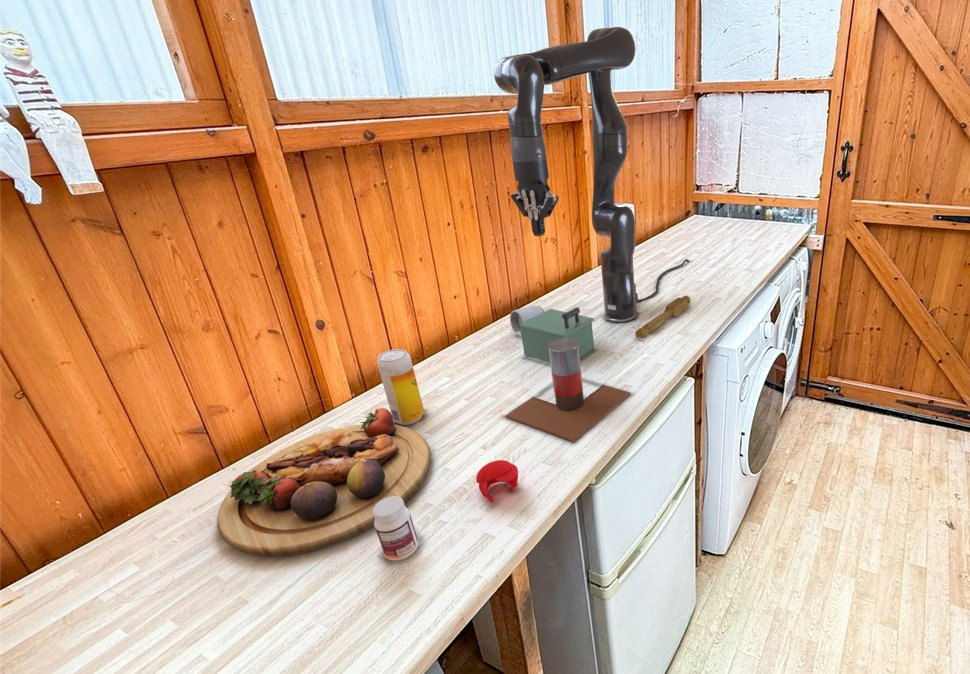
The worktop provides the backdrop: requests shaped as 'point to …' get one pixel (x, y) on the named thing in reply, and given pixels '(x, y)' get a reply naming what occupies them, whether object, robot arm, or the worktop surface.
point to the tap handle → (664, 316)
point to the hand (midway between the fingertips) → (539, 235)
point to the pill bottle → (395, 528)
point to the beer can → (400, 386)
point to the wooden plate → (323, 487)
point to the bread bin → (539, 341)
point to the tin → (566, 374)
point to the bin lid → (557, 322)
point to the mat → (568, 413)
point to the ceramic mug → (523, 316)
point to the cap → (496, 476)
